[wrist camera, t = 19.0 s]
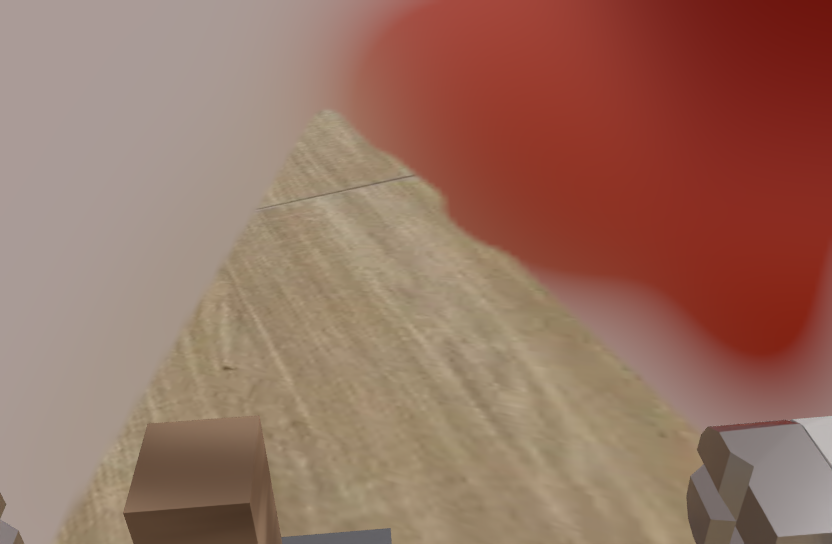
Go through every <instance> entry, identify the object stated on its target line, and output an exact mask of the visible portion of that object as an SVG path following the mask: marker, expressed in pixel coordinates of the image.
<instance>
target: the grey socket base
mask: <svg viewBox="0 0 832 544" xmlns="http://www.w3.org/2000/svg"><path fill="white" fill-rule="evenodd" d="M281 539H282V544H391V529H390V528H387V529H375V530H363V531H351V532H339V533H327V534H315V535H303V536H291V537H281Z"/></svg>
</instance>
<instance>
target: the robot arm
mask: <svg viewBox="0 0 832 544" xmlns="http://www.w3.org/2000/svg"><path fill="white" fill-rule="evenodd" d="M697 451H698V453H699V455H700V457H701V459H702V461H703V463H704V465H702V466H701V467H700V468H699V469H698V470H697V471H696V472H695V473H693V474H692V475H691V476H690V481H689V486H688V491H687V509H688V519H689V523H690V527H691V530H692V534H693V537H694V539H695V542H696V544H832V416H827V417H816V418H804V419H792V420H790V421H788V420H778V421H766V422H755V423H744V424H733V425H721V426H710V427H707V428H706V429H705V431H704V432H703V433H702V434H701V437H700V441H699V444H698V448H697ZM5 506H6V503H5V501H4V499H3V497H2V495H1V493H0V518H1V515H2V513H3V511H4V509H5ZM0 544H24V542H23V540H22V538H21V536H20V534H19V531H18V530H17V529H15V528H14V527H12V526H10V525H8V524H7V523H5V522H3V521H2V520H0Z"/></svg>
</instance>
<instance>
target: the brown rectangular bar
mask: <svg viewBox="0 0 832 544" xmlns="http://www.w3.org/2000/svg"><path fill="white" fill-rule="evenodd" d="M123 514H124V517H125V520H126V523H127V526H128V529H129V532H130V534H131V537H132V540H133V543H134V544H282V539H281V534H280V528H279V523H278V517H277V511H276V506H275V500H274V495H273V489H272V483H271V478H270V472H269V466H268V461H267V455H266V450H265V444H264V438H263V433H262V427H261V422H260V416H246V417H232V418H219V419H205V420H192V421H178V422H165V423H151V424H147V428H146V432H145V435H144V439H143V443H142V446H141V450H140V453H139V457H138V461H137V464H136V468H135V472H134V475H133V479H132V483H131V486H130V490H129V494H128V497H127V501H126V505H125V508H124V512H123Z"/></svg>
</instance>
